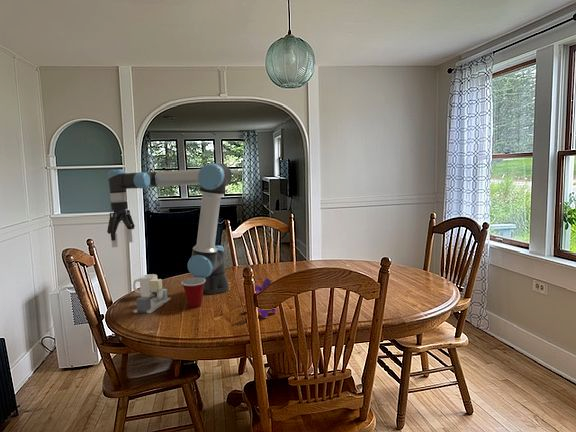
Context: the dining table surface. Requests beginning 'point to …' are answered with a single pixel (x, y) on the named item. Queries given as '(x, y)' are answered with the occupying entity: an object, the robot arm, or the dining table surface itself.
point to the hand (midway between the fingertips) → (123, 244)
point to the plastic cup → (194, 291)
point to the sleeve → (156, 288)
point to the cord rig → (150, 303)
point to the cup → (144, 284)
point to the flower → (258, 289)
